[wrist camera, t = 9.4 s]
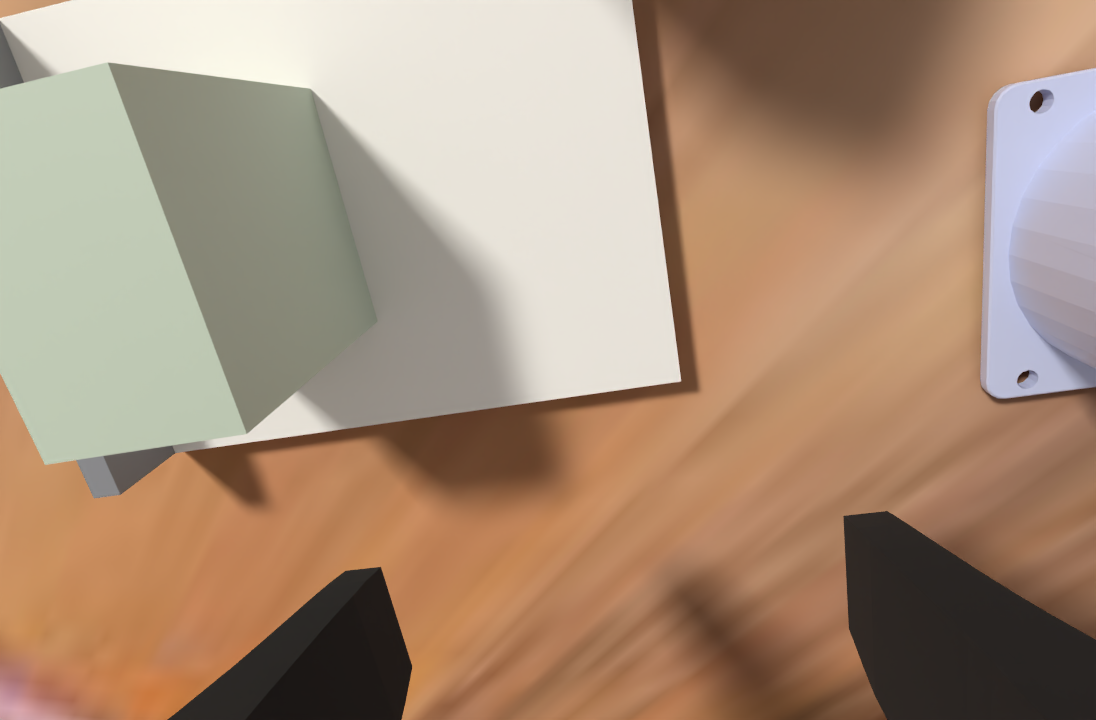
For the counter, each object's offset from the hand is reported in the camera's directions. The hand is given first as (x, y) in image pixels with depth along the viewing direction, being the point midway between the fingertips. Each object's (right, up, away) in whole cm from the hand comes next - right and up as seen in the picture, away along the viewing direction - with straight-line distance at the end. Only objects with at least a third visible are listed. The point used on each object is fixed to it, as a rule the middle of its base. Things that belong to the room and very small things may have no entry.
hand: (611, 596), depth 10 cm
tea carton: (-8, +7, +7) cm, 13 cm away
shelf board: (-6, +8, +8) cm, 13 cm away
